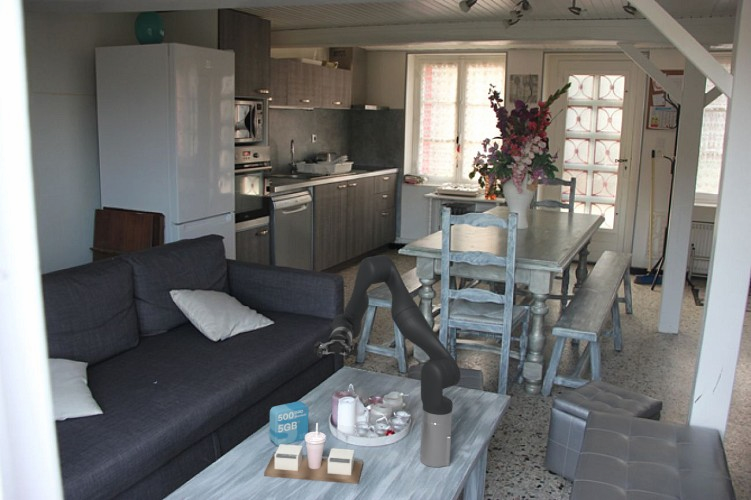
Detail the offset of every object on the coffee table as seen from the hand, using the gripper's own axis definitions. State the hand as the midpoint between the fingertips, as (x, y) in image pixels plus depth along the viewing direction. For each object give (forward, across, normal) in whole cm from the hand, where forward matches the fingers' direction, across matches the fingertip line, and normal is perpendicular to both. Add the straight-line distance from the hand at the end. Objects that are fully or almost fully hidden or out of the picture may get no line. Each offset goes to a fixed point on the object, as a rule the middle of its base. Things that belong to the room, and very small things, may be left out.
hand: (332, 355), depth 222 cm
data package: (0, -14, +30) cm, 33 cm away
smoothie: (+18, -2, +29) cm, 34 cm away
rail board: (+18, -2, +30) cm, 35 cm away
